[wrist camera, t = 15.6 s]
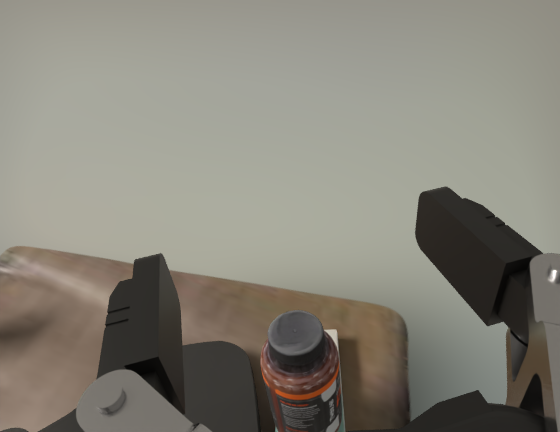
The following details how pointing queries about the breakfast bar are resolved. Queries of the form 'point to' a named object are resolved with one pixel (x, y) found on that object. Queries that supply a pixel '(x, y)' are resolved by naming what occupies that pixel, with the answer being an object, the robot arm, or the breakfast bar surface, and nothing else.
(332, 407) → the supplement bottle
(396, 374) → the breakfast bar surface
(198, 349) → the media streaming box
